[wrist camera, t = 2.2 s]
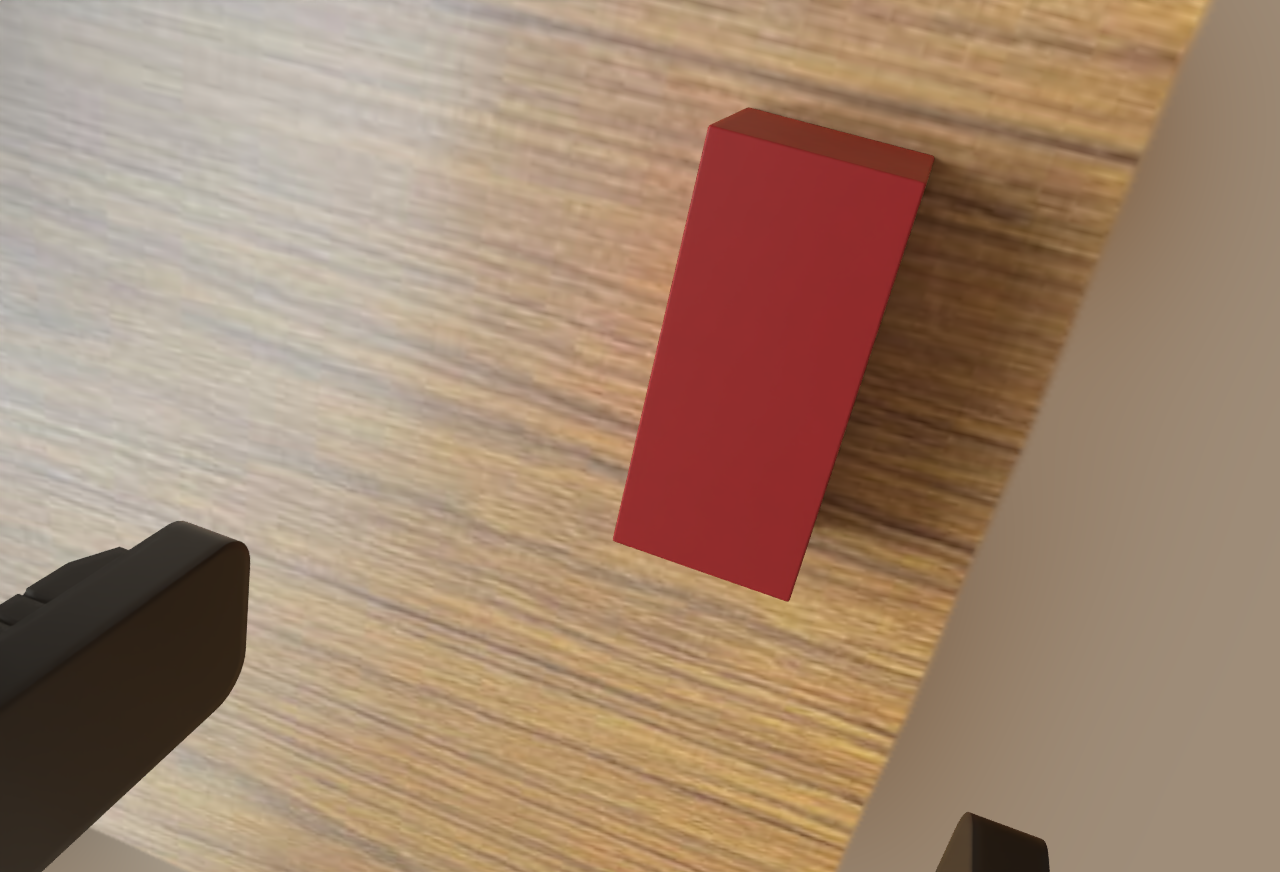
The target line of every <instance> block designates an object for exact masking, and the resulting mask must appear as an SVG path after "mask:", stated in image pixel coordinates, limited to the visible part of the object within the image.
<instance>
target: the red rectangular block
mask: <svg viewBox="0 0 1280 872" xmlns="http://www.w3.org/2000/svg"><path fill="white" fill-rule="evenodd" d="M933 162H934V156H932V155H928V154H924V153H920V152H916V151H913V150H909V149H905V148H901V147H897V146H894V145H890V144H886V143H882V142H878V141H875V140H871V139H867V138H863V137H859V136H856V135H852V134H848V133H844V132H840V131H837V130H833V129H829V128H825V127H821V126H818V125H814V124H810V123H806V122H802V121H799V120H795V119H791V118H787V117H783V116H780V115H776V114H772V113H768V112H764V111H761V110H757V109H753V108H746V109H744V110H741V111H739V112H737V113H735V114H733V115H731V116H729V117H726V118H724V119H722V120H720V121H718V122H716V123H713V124H711V125H709V127H708V130H707V135H706V139H705V143H704V148H703V152H702V156H701V161H700V165H699V169H698V174H697V178H696V182H695V186H694V191H693V195H692V199H691V204H690V208H689V212H688V217H687V221H686V225H685V230H684V234H683V238H682V243H681V247H680V251H679V256H678V260H677V264H676V269H675V273H674V277H673V281H672V286H671V290H670V294H669V299H668V303H667V307H666V312H665V316H664V320H663V325H662V329H661V333H660V338H659V342H658V346H657V351H656V355H655V359H654V364H653V368H652V372H651V376H650V381H649V385H648V389H647V394H646V398H645V402H644V407H643V411H642V415H641V420H640V424H639V428H638V433H637V437H636V441H635V446H634V450H633V454H632V458H631V463H630V467H629V471H628V476H627V480H626V484H625V489H624V493H623V497H622V502H621V506H620V510H619V515H618V519H617V523H616V528H615V532H614V536H613V541H615V542H618V543H621V544H623V545H626V546H629V547H632V548H635V549H638V550H641V551H644V552H646V553H649V554H652V555H655V556H658V557H661V558H664V559H666V560H669V561H672V562H675V563H678V564H681V565H684V566H687V567H689V568H692V569H695V570H698V571H701V572H704V573H707V574H709V575H712V576H715V577H718V578H721V579H724V580H727V581H729V582H732V583H735V584H738V585H741V586H744V587H747V588H750V589H752V590H755V591H758V592H761V593H764V594H767V595H770V596H772V597H775V598H778V599H781V600H784V601H789V600H790V597H791V594H792V591H793V588H794V585H795V582H796V579H797V576H798V573H799V570H800V567H801V564H802V561H803V558H804V555H805V552H806V549H807V546H808V543H809V540H810V537H811V534H812V531H813V528H814V524H815V521H816V518H817V515H818V512H819V509H820V506H821V503H822V500H823V497H824V494H825V491H826V488H827V485H828V482H829V479H830V476H831V473H832V470H833V467H834V464H835V461H836V458H837V455H838V451H839V448H840V445H841V442H842V439H843V436H844V433H845V430H846V427H847V424H848V421H849V418H850V415H851V412H852V409H853V406H854V403H855V400H856V397H857V394H858V391H859V388H860V385H861V382H862V379H863V375H864V372H865V369H866V366H867V363H868V360H869V357H870V354H871V351H872V348H873V345H874V342H875V339H876V336H877V333H878V330H879V327H880V324H881V321H882V318H883V315H884V312H885V309H886V306H887V303H888V299H889V296H890V293H891V290H892V287H893V284H894V281H895V278H896V275H897V272H898V269H899V266H900V263H901V260H902V257H903V254H904V251H905V248H906V245H907V242H908V239H909V236H910V233H911V230H912V226H913V223H914V220H915V217H916V214H917V211H918V208H919V205H920V202H921V199H922V196H923V193H924V190H925V187H926V184H927V181H928V178H929V175H930V171H931V168H932V165H933Z"/></svg>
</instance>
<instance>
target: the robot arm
mask: <svg viewBox="0 0 1280 872" xmlns="http://www.w3.org/2000/svg"><path fill="white" fill-rule="evenodd" d="M249 575H250V555H249V551H248V548H247V547H246V545H245V544H244V543H242V542H240V541H237V540H235V539H232V538H229V537H227V536H224V535H221V534H218V533H216V532H213V531H210V530H207V529H205V528H202V527H199V526H197V525H194V524H191V523H188V522H185V521H176V522H173V523H171V524H169V525H167V526H166V527H164V528H162V529H161V530H159V531H158V532H156V533H155V534H153V535H152V536H150V537H149V538H147V539H145V540H144V541H142V542H141V543H139V544H138V545H136V546H135V547H133V548H132V549H130V550H127V549H124V548H121V547H117V548H114V549H111V550H108V551H105V552H101V553H98V554H95V555H92V556H89V557H85V558H82V559H79V560H76V561H73V562H69V563H67V564H65V565H64V566H62V567H61V568H59V569H57V570H56V571H54V572H52V573H51V574H49V575H48V576H46V577H44V578H43V579H41V580H39V581H38V582H36V583H35V584H33V585H31V586H30V587H28V588H27V589H26V592H25V593H24V595H20V594H17V595H15V596H14V597H12V598H10V599H9V600H7V601H5V602H4V603H2V604H1V605H0V872H42V871H43V870H44V869H45V868H46V867H47V866H48V865H49V864H51V863H52V862H53V861H54V860H55V859H56V858H57V857H58V856H59V855H60V854H61V853H62V852H63V851H64V850H66V849H67V848H68V847H69V846H70V845H71V844H72V843H73V842H74V841H75V840H76V839H77V838H79V837H80V836H81V835H82V834H83V833H84V832H85V831H86V830H87V829H88V828H89V827H90V826H91V825H93V824H94V823H95V822H96V821H97V820H98V819H99V818H100V817H101V816H102V815H103V814H104V813H105V812H106V811H108V810H109V809H110V808H111V807H112V806H113V805H114V804H115V803H116V802H117V801H118V800H119V799H120V798H122V797H123V796H124V795H125V794H126V793H127V792H128V791H129V790H130V789H131V788H132V787H133V786H134V785H136V784H137V783H138V782H139V781H140V780H141V779H142V778H143V777H144V776H145V775H146V774H147V773H148V772H150V771H151V770H152V769H153V768H154V767H155V766H156V765H157V764H158V763H159V762H160V761H161V760H162V759H164V758H165V757H166V756H167V755H168V754H169V753H170V752H171V751H172V750H173V749H174V748H175V747H176V746H178V745H179V744H180V743H181V742H182V741H183V740H184V739H185V738H186V737H187V736H188V735H189V734H190V733H192V732H193V731H194V730H195V729H196V728H197V727H198V726H199V725H200V724H201V723H202V722H203V721H204V720H206V719H207V718H208V717H209V716H210V715H211V714H212V713H213V712H214V711H215V710H216V709H217V708H218V707H219V706H220V705H221V704H222V703H223V702H224V700H225V699H226V698H227V696H228V695H229V694H230V692H231V690H232V689H233V687H234V685H235V683H236V681H237V679H238V677H239V675H240V672H241V669H242V666H243V663H244V658H245V652H246V634H247V614H248V595H249ZM936 872H1050V870H1049V857H1048V849H1047V845H1046V843H1045V841H1044V840H1042V839H1040V838H1038V837H1035V836H1032V835H1029V834H1027V833H1024V832H1021V831H1019V830H1016V829H1013V828H1010V827H1008V826H1005V825H1002V824H1000V823H997V822H994V821H991V820H988V819H986V818H983V817H980V816H978V815H975V814H972V813H970V812H966V813H965V814H964V815H963V816H962V818H961V819H960V821H959V823H958V824H957V827H956V828H955V830H954V833H953V835H952V837H951V839H950V841H949V844H948V846H947V848H946V850H945V852H944V854H943V857H942V859H941V861H940V863H939V865H938V867H937V870H936Z"/></svg>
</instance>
